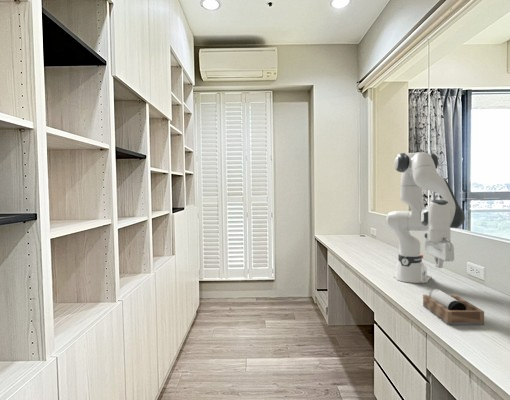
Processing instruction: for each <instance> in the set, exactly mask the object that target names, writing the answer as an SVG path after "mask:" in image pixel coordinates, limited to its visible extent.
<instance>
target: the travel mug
mask: <svg viewBox="0 0 510 400" xmlns="http://www.w3.org/2000/svg"><path fill="white" fill-rule="evenodd" d="M428 296H430V297H431V298H432V299H434V300H435V301H437V302H438V303H440V304H441V305H443V306H444V307H446V308H447V309H448V310H466V306H465V305H464V304H463V303H461V302H459V301H458V300H456V299H454V298H453V297H451V295H449V294H448V293H446V292H444V291H442V290H441V289H439V288H433V289H432V290H430V291H429V294H428Z"/></svg>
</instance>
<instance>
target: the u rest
mask: <svg viewBox="0 0 510 400" xmlns="http://www.w3.org/2000/svg"><path fill="white" fill-rule="evenodd" d="M450 296H451V297H453V298H454V299H456V300H458V301H459V302H461V303H463V304H464V305H465V306H466V310H448V309H447V308H446V307H444V306H443V305H441V304H440V303H438V302H437V301H435V300H434V299H432V298H431V297H430V296H429V294H422V306H423V307H424V308H425V309H426V310H427V311H429V312H430V313H431V314H432V315H433V316H437V317H436V318H437V319H438V320H440V319H441V320H440V321H442V322H443V323H444V324H445V325H447V326H485V311H484V310H482V309H481V308H478V307H477V306H476V305H473V304H472V303H470V302H469V301H468V300H465V299H464V298H461V296H459V295H457V294H455V293H454V294H450Z"/></svg>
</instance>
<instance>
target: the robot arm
mask: <svg viewBox="0 0 510 400" xmlns="http://www.w3.org/2000/svg"><path fill="white" fill-rule="evenodd" d="M393 165H394V169H395V170H396V171H397V172H399V173H401V176H400V184H399V185H400V186H399V187H400V188H399V189H400V191H399V200H400V201H401V202H402V203H403V204H405V205H406V206H409V207H410V210H394V211H389V213H388V214H386V217H385V222H386V225H387V227H388V228H389V229H390V230H392V231H393V232H394V234H395V235H396V238H397V241H398V250H399V251H398V256H397V260H398V261H397V262H396V265H395V274H393V275H392V276H393V278H395V279H396V280H397V281H399V282H403V283H410V284H411V283H413V284H414V283H416V284H419V283H422V284H424V283H428V282H429V281H430V279H431V278H432V275H431V274H428V268H427V266H426V265H425V264H424V263H423V260H422V259H424V255H423V254H421V241H420V240H419V239H418V238H417V237H415V236H413V235H411V233H410V231H414V232H425V233H424V234H423V237H424V251H425V253H426V254H428V255H430V256H432V257H433V260H434V263H435V267H436V268H437V269H443V267H444V266H443V264H444V262H454V261H455V248H454V245H453V244H452V242H451V236H452V235H451V231H452V230H451V228H452V229H458V228H459V227H460V226H462V225H463V224H464V223H465V220H466V219H465V218H466V217H465V213H464V211H463V208H462V207H461V206H460V204H459V202H458V200H457V198H456V196H455V193H454V192H453V190H452V188H451V186H450V184H449V182H448V180H447V179H445V178H443V177H442V176H441V174H439V173H438V171H437V169H438V166H439V157H438V156H437V154H435V153H433V152H425V151H424V152H423V151H421V152H418V151H417V152H401V153H398V154H397V155H396V156H395V159H394V162H393ZM422 189H423V190H426V191H431V192H433V193H436V194H438V195H440V196H441V198H442V199H433V200H431V201H430V202H429V205H428V206H425V205H424V202H423V198H422V197H423V196H422V193H423V192H422Z"/></svg>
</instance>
